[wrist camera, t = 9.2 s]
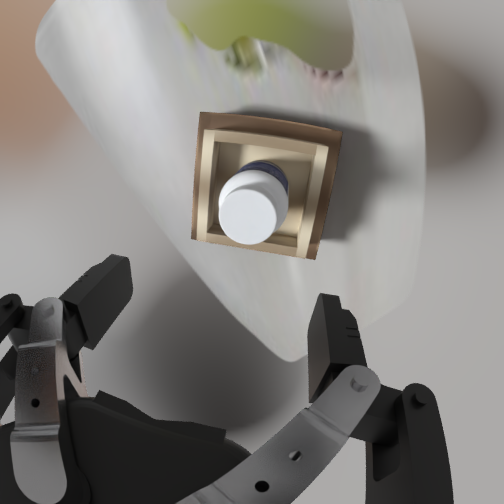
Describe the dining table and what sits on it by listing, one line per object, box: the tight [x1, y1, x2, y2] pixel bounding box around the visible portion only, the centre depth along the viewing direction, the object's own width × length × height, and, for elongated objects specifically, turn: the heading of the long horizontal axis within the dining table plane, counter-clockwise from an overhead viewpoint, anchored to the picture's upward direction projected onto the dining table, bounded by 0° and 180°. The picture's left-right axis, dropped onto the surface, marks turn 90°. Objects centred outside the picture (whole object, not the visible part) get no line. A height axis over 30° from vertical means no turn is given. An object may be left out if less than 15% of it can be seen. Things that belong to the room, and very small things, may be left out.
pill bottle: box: [219, 160, 289, 245], centre depth 22 cm, size 5×5×10 cm
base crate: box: [191, 112, 343, 260], centre depth 30 cm, size 14×14×5 cm
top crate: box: [197, 129, 329, 259], centre depth 26 cm, size 11×11×4 cm
